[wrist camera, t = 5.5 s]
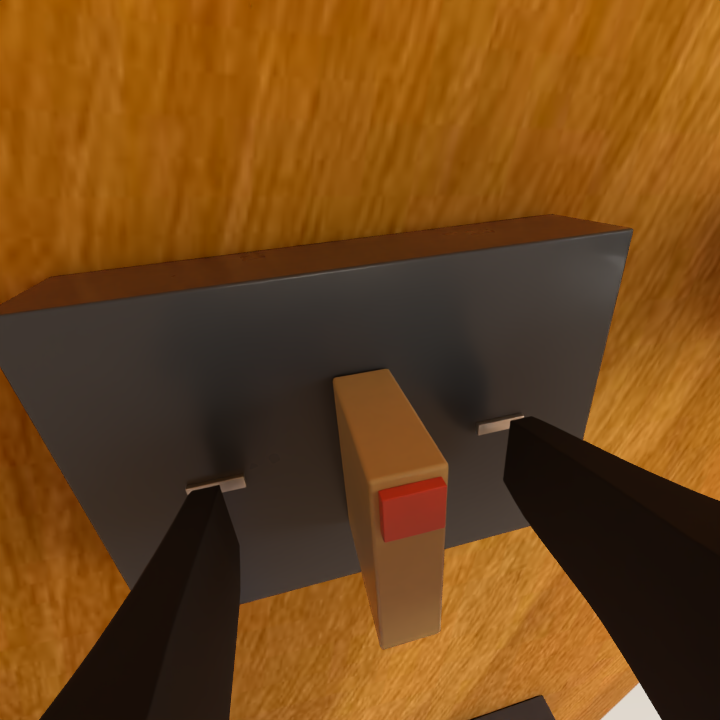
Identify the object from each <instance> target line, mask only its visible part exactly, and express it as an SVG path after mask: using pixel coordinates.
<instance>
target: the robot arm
mask: <svg viewBox="0 0 720 720" xmlns="http://www.w3.org/2000/svg"><path fill="white" fill-rule="evenodd" d="M503 481H504V483H505V485H506V487H507V489H508V490H509V492H510V494H511V496H512V498H513V499H514V501H515V503H516V504H517V506H518V508H519V509H520V511H521V513H522V515H523V516H524V518H525V519H526V520H527V522H528V523H529V524H530V526H531V527H532V529H533V530H534V531H535V533H536V534H537V535H538V537H539V538H540V539H541V541H542V542H543V543H544V545H545V546H546V547H547V549H548V550H549V551H550V553H551V554H552V555H553V557H554V558H555V559H556V560H557V562H558V563H559V564H560V566H561V567H562V568H563V570H564V571H565V572H566V574H567V575H568V576H569V578H570V579H571V580H572V582H573V583H574V584H575V586H576V587H577V588H578V590H579V591H580V592H581V594H582V595H583V596H584V597H585V599H586V600H587V602H588V603H589V604H590V606H591V607H592V609H593V610H594V612H595V613H596V614H597V616H598V617H599V619H600V620H601V622H602V623H603V625H604V626H605V628H606V629H607V631H608V633H609V634H610V636H611V637H612V639H613V641H614V642H615V644H616V645H617V647H618V648H619V650H620V652H621V653H622V655H623V656H624V658H625V660H626V661H627V663H628V664H629V666H630V668H631V669H632V671H633V673H634V674H635V676H636V678H637V679H638V681H639V683H640V684H641V686H642V688H643V689H644V691H645V693H646V694H647V696H648V697H649V699H650V701H651V703H652V704H653V706H654V707H655V709H656V711H657V712H658V714H659V716H660V718H661V719H662V720H720V501H718V500H715V499H713V498H710V497H708V496H705V495H703V494H700V493H698V492H695V491H693V490H690V489H688V488H686V487H683V486H681V485H679V484H676V483H674V482H672V481H669V480H667V479H665V478H662V477H660V476H658V475H656V474H653V473H651V472H649V471H647V470H644V469H642V468H640V467H638V466H636V465H634V464H631V463H629V462H627V461H625V460H623V459H621V458H619V457H617V456H615V455H612V454H610V453H608V452H606V451H604V450H602V449H600V448H598V447H596V446H594V445H592V444H590V443H588V442H586V441H584V440H582V439H580V438H578V437H576V436H574V435H572V434H570V433H568V432H565V431H563V430H561V429H559V428H557V427H555V426H553V425H551V424H549V423H547V422H545V421H542V420H540V419H538V418H535V417H533V416H529V417H525V418H520V419H516V420H511V421H510V427H509V435H508V443H507V451H506V459H505V467H504V475H503ZM240 592H241V589H240V545H239V542H238V539H237V536H236V533H235V530H234V527H233V524H232V521H231V518H230V515H229V512H228V509H227V506H226V503H225V500H224V497H223V494H222V491H221V488H220V485H216V486H211V487H207V488H202V489H198V490H193V491H191V492H190V493H189V494H188V496H187V497H186V499H185V501H184V503H183V504H182V506H181V508H180V510H179V512H178V513H177V515H176V517H175V519H174V520H173V522H172V524H171V526H170V527H169V529H168V531H167V533H166V534H165V536H164V538H163V539H162V541H161V543H160V545H159V546H158V548H157V550H156V551H155V553H154V555H153V556H152V558H151V559H150V561H149V563H148V564H147V566H146V568H145V569H144V571H143V572H142V574H141V576H140V577H139V579H138V581H137V582H136V584H135V585H134V587H133V589H132V590H131V592H130V593H129V595H128V596H127V598H126V599H125V601H124V602H123V604H122V605H121V607H120V608H119V610H118V611H117V613H116V614H115V616H114V617H113V619H112V620H111V622H110V623H109V625H108V626H107V628H106V629H105V631H104V632H103V633H102V635H101V636H100V638H99V639H98V641H97V642H96V644H95V645H94V647H93V648H92V649H91V651H90V652H89V654H88V655H87V656H86V658H85V659H84V661H83V662H82V663H81V665H80V666H79V668H78V669H77V670H76V672H75V673H74V674H73V676H72V677H71V678H70V680H69V681H68V683H67V684H66V685H65V687H64V688H63V689H62V690H61V692H60V693H59V694H58V696H57V697H56V698H55V700H54V701H53V702H52V704H51V705H50V706H49V708H48V709H47V710H46V712H45V713H44V714H43V715H42V717H41V718H40V719H39V720H229V715H230V703H231V693H232V682H233V671H234V660H235V649H236V638H237V627H238V616H239V604H240Z"/></svg>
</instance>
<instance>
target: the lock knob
mask: <svg viewBox="0 0 720 720" xmlns="http://www.w3.org/2000/svg"><path fill="white" fill-rule="evenodd" d="M333 389H334V397H335V406H336V414H337V423H338V431H339V440H340V448H341V457H342V465H343V474H344V482H345V491H346V499H347V508H348V516H349V524H350V528H351V532H352V536H353V540H354V544H355V548H356V552H357V556H358V560H359V564H360V568H361V572H362V576H363V580H364V584H365V588H366V592H367V596H368V599H369V603H370V607H371V611H372V615H373V619H374V623H375V627H376V631H377V635H378V639H379V643H380V646H381V648H382V649H387V648H390V647H394V646H397V645H400V644H404V643H407V642H410V641H414V640H417V639H420V638H424V637H427V636H430V635H434V634H437V633H439V632H440V627H441V607H442V587H443V567H444V547H445V527H446V507H447V487H448V463H447V461H446V460H445V458H444V457H443V455H442V453H441V452H440V450H439V449H438V447H437V445H436V444H435V442H434V441H433V439H432V437H431V436H430V434H429V433H428V431H427V430H426V428H425V426H424V425H423V423H422V422H421V420H420V418H419V417H418V415H417V414H416V412H415V410H414V409H413V407H412V406H411V404H410V402H409V401H408V399H407V398H406V396H405V394H404V393H403V391H402V390H401V388H400V387H399V385H398V383H397V382H396V380H395V379H394V377H393V375H392V374H391V372H390V371H389V369H381V370H375V371H370V372H364V373H358V374H352V375H347V376H341V377H335V378H334V379H333Z"/></svg>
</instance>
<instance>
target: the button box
mask: <svg viewBox="0 0 720 720" xmlns="http://www.w3.org/2000/svg"><path fill="white" fill-rule="evenodd" d="M473 720H555V718H554V716H553V714H552V712H551V711H550V709H549V707H548V705H547V703H546V701H545V699H544V697H543V696H539V697H536V698H533V699H530V700H527V701H524V702H522V703H519V704H516V705H513V706H510V707H507V708H505V709H502V710H499V711H496V712H493V713H490V714H488V715H485V716H482V717H479V718H476V719H473Z"/></svg>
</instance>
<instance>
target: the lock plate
mask: <svg viewBox="0 0 720 720" xmlns="http://www.w3.org/2000/svg"><path fill="white" fill-rule="evenodd" d="M632 233H633V229H632V228H628V227H622V226H616V225H611V224H605V223H599V222H594V221H588V220H582V219H577V218H571V217H565V216H560V215H554V214H550V215H542V216H534V217H526V218H518V219H510V220H502V221H494V222H486V223H478V224H470V225H462V226H454V227H446V228H438V229H430V230H422V231H414V232H406V233H398V234H390V235H382V236H374V237H366V238H358V239H350V240H342V241H334V242H327V243H319V244H311V245H303V246H295V247H287V248H279V249H271V250H263V251H255V252H247V253H239V254H231V255H223V256H215V257H207V258H199V259H191V260H183V261H175V262H167V263H159V264H151V265H143V266H135V267H127V268H119V269H111V270H103V271H95V272H87V273H79V274H71V275H63V276H55V277H49V278H48V279H46V280H44V281H42V282H40V283H39V284H37V285H35V286H33V287H31V288H29V289H28V290H26V291H24V292H22V293H20V294H19V295H17V296H15V297H13V298H11V299H10V300H8V301H6V302H4V303H2V304H0V367H1V369H2V371H3V372H4V374H5V376H6V378H7V379H8V381H9V383H10V384H11V386H12V388H13V390H14V391H15V393H16V395H17V396H18V398H19V400H20V402H21V403H22V405H23V407H24V408H25V410H26V412H27V414H28V415H29V417H30V419H31V420H32V422H33V424H34V426H35V427H36V429H37V431H38V432H39V434H40V436H41V438H42V439H43V441H44V443H45V444H46V446H47V448H48V450H49V451H50V453H51V455H52V456H53V458H54V460H55V462H56V463H57V465H58V467H59V468H60V470H61V472H62V474H63V475H64V477H65V479H66V480H67V482H68V484H69V486H70V487H71V489H72V491H73V492H74V494H75V496H76V498H77V499H78V501H79V503H80V504H81V506H82V508H83V510H84V511H85V513H86V515H87V516H88V518H89V520H90V522H91V523H92V525H93V527H94V528H95V530H96V532H97V534H98V535H99V537H100V539H101V540H102V542H103V544H104V546H105V547H106V549H107V551H108V552H109V554H110V556H111V558H112V559H113V561H114V563H115V564H116V566H117V568H118V570H119V571H120V573H121V575H122V576H123V578H124V580H125V582H126V583H127V585H128V587H129V588H130V590H132V589H133V587H134V585H135V584H136V582H137V581H138V579H139V577H140V576H141V574H142V572H143V571H144V569H145V568H146V566H147V564H148V563H149V561H150V559H151V558H152V556H153V555H154V553H155V551H156V550H157V548H158V546H159V545H160V543H161V541H162V539H163V538H164V536H165V534H166V533H167V531H168V529H169V527H170V526H171V524H172V522H173V520H174V519H175V517H176V515H177V513H178V512H179V510H180V508H181V506H182V504H183V503H184V501H185V499H186V497H187V496H188V494H189V493H190V492H191V491H193V490H198V489H202V488H207V487H211V486H216V485H220V488H221V491H222V494H223V497H224V500H225V503H226V506H227V509H228V512H229V515H230V518H231V521H232V524H233V527H234V530H235V533H236V536H237V539H238V542H239V545H240V589H241V592H240V604H244V603H247V602H251V601H255V600H259V599H262V598H266V597H270V596H273V595H277V594H281V593H284V592H288V591H292V590H295V589H299V588H303V587H307V586H310V585H314V584H318V583H321V582H325V581H329V580H332V579H336V578H340V577H344V576H347V575H351V574H355V573H358V572H361V568H360V564H359V560H358V556H357V552H356V548H355V544H354V540H353V536H352V532H351V528H350V524H349V516H348V508H347V499H346V491H345V482H344V474H343V465H342V457H341V448H340V440H339V431H338V423H337V414H336V406H335V397H334V389H333V379H334V378H335V377H341V376H347V375H352V374H358V373H364V372H370V371H375V370H381V369H389V371H390V372H391V374H392V375H393V377H394V379H395V380H396V382H397V383H398V385H399V387H400V388H401V390H402V391H403V393H404V394H405V396H406V398H407V399H408V401H409V402H410V404H411V406H412V407H413V409H414V410H415V412H416V414H417V415H418V417H419V418H420V420H421V422H422V423H423V425H424V426H425V428H426V430H427V431H428V433H429V434H430V436H431V437H432V439H433V441H434V442H435V444H436V445H437V447H438V449H439V450H440V452H441V453H442V455H443V457H444V458H445V460H446V461H447V463H448V487H447V507H446V527H445V547H444V549H447V548H451V547H454V546H458V545H462V544H465V543H469V542H473V541H477V540H480V539H484V538H488V537H491V536H495V535H499V534H502V533H506V532H510V531H514V530H517V529H521V528H525V527H528V526H530V524H529V523H528V522H527V520H526V519H525V518H524V516H523V515H522V513H521V511H520V509H519V508H518V506H517V504H516V503H515V501H514V499H513V498H512V496H511V494H510V492H509V490H508V489H507V487H506V485H505V483H504V481H503V475H504V467H505V459H506V451H507V443H508V435H509V427H510V421H511V420H516V419H520V418H525V417H529V416H533V417H535V418H538V419H540V420H542V421H545V422H547V423H549V424H551V425H553V426H555V427H557V428H559V429H561V430H563V431H565V432H568V433H570V434H572V435H574V436H576V437H578V438H580V439H582V440H583V437H584V433H585V428H586V424H587V420H588V416H589V412H590V408H591V404H592V399H593V395H594V391H595V387H596V383H597V379H598V375H599V370H600V366H601V362H602V358H603V354H604V350H605V345H606V341H607V337H608V333H609V329H610V325H611V321H612V316H613V312H614V308H615V304H616V300H617V296H618V292H619V287H620V283H621V279H622V275H623V271H624V267H625V262H626V258H627V254H628V250H629V246H630V242H631V238H632ZM240 604H239V605H240Z"/></svg>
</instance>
